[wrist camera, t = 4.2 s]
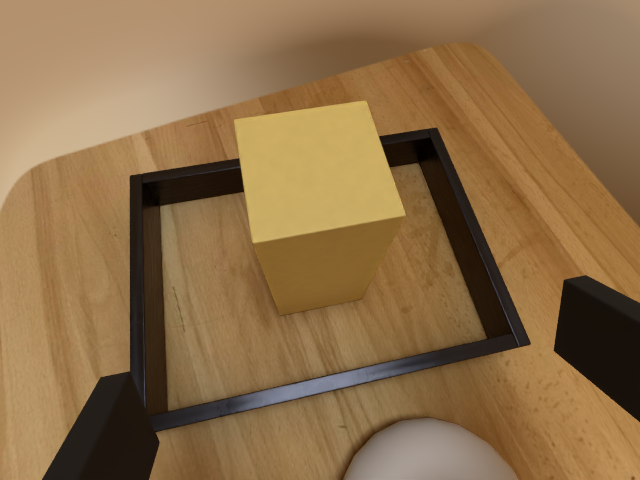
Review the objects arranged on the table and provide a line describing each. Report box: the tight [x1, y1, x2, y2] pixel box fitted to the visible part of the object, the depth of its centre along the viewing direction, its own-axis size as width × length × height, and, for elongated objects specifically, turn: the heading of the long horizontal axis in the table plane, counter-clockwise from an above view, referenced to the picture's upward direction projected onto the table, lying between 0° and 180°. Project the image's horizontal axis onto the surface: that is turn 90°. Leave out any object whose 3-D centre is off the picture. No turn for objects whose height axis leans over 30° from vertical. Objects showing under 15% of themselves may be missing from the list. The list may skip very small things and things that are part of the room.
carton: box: [234, 101, 406, 316], centre depth 19 cm, size 6×6×12 cm
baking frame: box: [130, 128, 531, 432], centre depth 23 cm, size 22×16×3 cm
